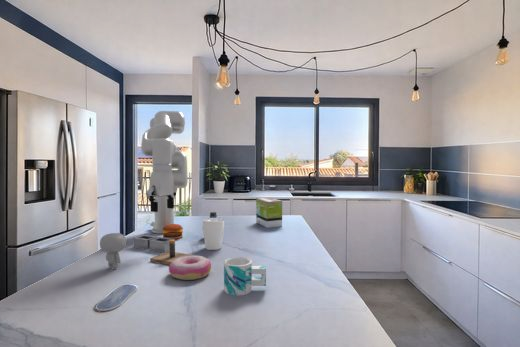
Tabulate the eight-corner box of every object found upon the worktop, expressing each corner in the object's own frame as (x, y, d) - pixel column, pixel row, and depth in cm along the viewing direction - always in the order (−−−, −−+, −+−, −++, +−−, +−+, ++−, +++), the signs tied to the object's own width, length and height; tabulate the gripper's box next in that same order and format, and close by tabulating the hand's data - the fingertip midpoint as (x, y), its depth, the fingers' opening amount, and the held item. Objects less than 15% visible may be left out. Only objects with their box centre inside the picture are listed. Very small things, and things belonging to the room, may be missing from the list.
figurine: (130, 267, 111) (130, 233, 111) (110, 273, 105) (110, 237, 104) (116, 263, 115) (115, 230, 115) (96, 269, 109) (95, 234, 108)
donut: (168, 284, 97) (168, 268, 96) (169, 269, 109) (169, 255, 109) (213, 280, 100) (213, 264, 100) (208, 266, 113) (208, 252, 113)
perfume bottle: (213, 239, 149) (213, 214, 148) (204, 237, 153) (203, 212, 152) (222, 237, 154) (222, 212, 153) (213, 235, 157) (213, 211, 157)
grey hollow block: (133, 247, 136) (133, 237, 136) (144, 243, 141) (144, 234, 141) (147, 249, 132) (147, 240, 132) (158, 246, 138) (158, 236, 138)
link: (149, 249, 132) (149, 240, 132) (159, 246, 137) (159, 237, 137) (164, 252, 129) (164, 242, 128) (174, 248, 134) (174, 239, 134)
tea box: (255, 222, 188) (255, 197, 187) (270, 221, 192) (270, 197, 192) (266, 228, 174) (266, 201, 174) (282, 226, 179) (283, 200, 178)
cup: (220, 251, 130) (220, 222, 129) (199, 250, 132) (199, 221, 131) (226, 245, 139) (226, 218, 138) (207, 244, 141) (207, 217, 140)
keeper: (150, 261, 117) (150, 242, 117) (168, 254, 126) (168, 236, 126) (176, 266, 112) (176, 246, 112) (193, 258, 121) (193, 239, 121)
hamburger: (163, 241, 146) (163, 227, 146) (162, 236, 155) (161, 223, 155) (184, 239, 149) (184, 225, 149) (181, 235, 158) (181, 221, 158)
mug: (226, 283, 97) (226, 256, 97) (265, 284, 97) (265, 256, 96) (222, 295, 89) (222, 265, 88) (266, 295, 89) (266, 266, 88)
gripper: (169, 168, 141) (169, 206, 142) (139, 169, 125) (140, 212, 126) (182, 168, 138) (183, 207, 139) (154, 169, 122) (154, 213, 123)
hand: (162, 209), depth 132 cm, fingers open, 9 cm apart
